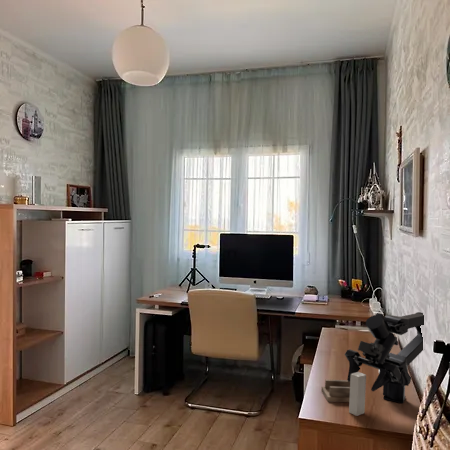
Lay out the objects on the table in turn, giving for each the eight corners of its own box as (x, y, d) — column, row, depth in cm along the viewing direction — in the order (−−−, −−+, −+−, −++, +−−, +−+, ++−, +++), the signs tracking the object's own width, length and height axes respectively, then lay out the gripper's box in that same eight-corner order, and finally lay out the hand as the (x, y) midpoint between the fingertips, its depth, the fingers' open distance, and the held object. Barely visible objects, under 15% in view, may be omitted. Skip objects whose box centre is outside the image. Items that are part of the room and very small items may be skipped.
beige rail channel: (351, 391, 156) (352, 379, 156) (359, 402, 147) (360, 389, 147) (321, 390, 156) (321, 378, 156) (327, 401, 147) (328, 388, 147)
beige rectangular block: (356, 409, 141) (358, 371, 141) (364, 413, 139) (366, 374, 139) (348, 412, 139) (350, 374, 139) (356, 416, 137) (358, 377, 136)
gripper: (349, 325, 150) (326, 362, 144) (398, 339, 135) (375, 381, 129) (362, 345, 155) (340, 381, 148) (410, 360, 140) (389, 401, 133)
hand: (359, 385), depth 140 cm, fingers open, 9 cm apart
